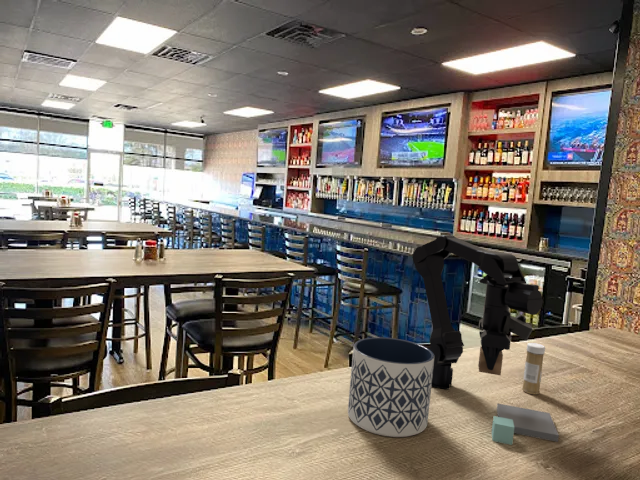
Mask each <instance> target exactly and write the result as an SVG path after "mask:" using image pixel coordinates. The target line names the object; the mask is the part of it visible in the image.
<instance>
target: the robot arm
mask: <svg viewBox="0 0 640 480" xmlns="http://www.w3.org/2000/svg"><path fill="white" fill-rule="evenodd" d="M451 254H452V255H454V256H457V257H458V258H461V259H463V260H465V261H468V262H470V263H473V264H474V265H476V266H478V269H479V270H480V271H482V272H483V273H484V274H485V276H484V277H483V278H481V279H479V283H480V284H483V285H484V284H485V285H486V286H485V287H486V288H485V295H484V296H485V297H484V298H485V299H484V304H483V307H482V308H483V314H482V318H481V319H479V321H478V322H479V323H478V329H479V330H480V331H479V338H480V345H481V346H482V350H483V353H484V357H485V360H486V364H487V368H488V370H493V368H494V365H495V363H496V360H497V358H498V355H499V353H500V351H502V352H503V350H506V351H508V350H511V349H510V347H511V340H510V337H509V336H508V335H507V334H510V333H512V334H514V335H516V336H518V337H520V339H522V340H524V341H527V340H528V339H529V337H530V335H531V333H532V332H533V330H534V328H533V327H532V325H530V323H528V322H527V318H526V316H524V315H522V314H518V315H516V316H512V315H511V314H512V313H511V312H510V309H511V310H514V311H518V312H520V313H521V312H522V313H525V314H528V315H532V316H535V315H537V314H538V313H540V311H541V310H542V307H543V303H544V299H543V295H542V293H541V291H540V290H539V288H540V285H538V284H536V283H535V284H534V283H533V284H530V283H527V280H526V279H525V276H524V274H523V273H522V270H521V268H520V266H519V262H518V260H517V257H516V256H515V255H514V254H512V253H511V254H510V253H506V252H499V251H493V250H487V249H485V248H482V247H480V246H476V245H474V244H472V243H470V242H467V241H465V240H462V239H459V237H458V238H457V237H456V236H454V235H447V234H446V235H443V234H442V235H440V236H438V237H437V238H436V239H434V240H431V241H428V242H427V243H424V244H423V245H420V246H417V247H416V248H415V249H414V250H413V252H412V261H413V264H414V267H415V269H416V271H417V273H418V274H419V275H420V276H421V277H422V279H423V283H424V288H425V293H426V299H427V304H428V309H429V314H430V319H431V323H432V331H431V335H430V337H429V345H430V346H429V348H428V349H429V350H431V351H432V352H433V354H434V366H433V376H432V386H431V388H432V387H433V388H434V387H435V388H438V389H444V390H450V386H452V382H453V375H454V374H453V373H454V368H453V367H452V364H457V363H458V361H459V359H460V357H461V356H462V354H463V353H464V346H465V344H464V341H463V338H462V332H461V331H460V330H457V331H456V330H455V328H454V327H453V326H452V323H451V318H450V313H449V308H448V304H447V298H446V294H445V289H444V285H443V281H442V280H443V279H442V273H443V270H444V267H445V262H444V260H445V259H447V258H448V257H449V256H450V255H451ZM481 330H482V331H481ZM481 346H480V347H481Z"/></svg>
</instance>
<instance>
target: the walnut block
mask: <svg viewBox="0 0 640 480" xmlns="http://www.w3.org/2000/svg"><path fill="white" fill-rule="evenodd" d="M478 357H479V358H478V365H477V366H478V372H479V373H482V374H483V373H484V374H491V375H496V376H501V375H502V366H503V359H504V355H503V350H502V351H500V353H499V355H498V358H497V360H496V363H495V365H494V368H493V370H488V368H487V364H486V360H485V357H484V353H483V350H482V346H480V349H479V356H478Z"/></svg>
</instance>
